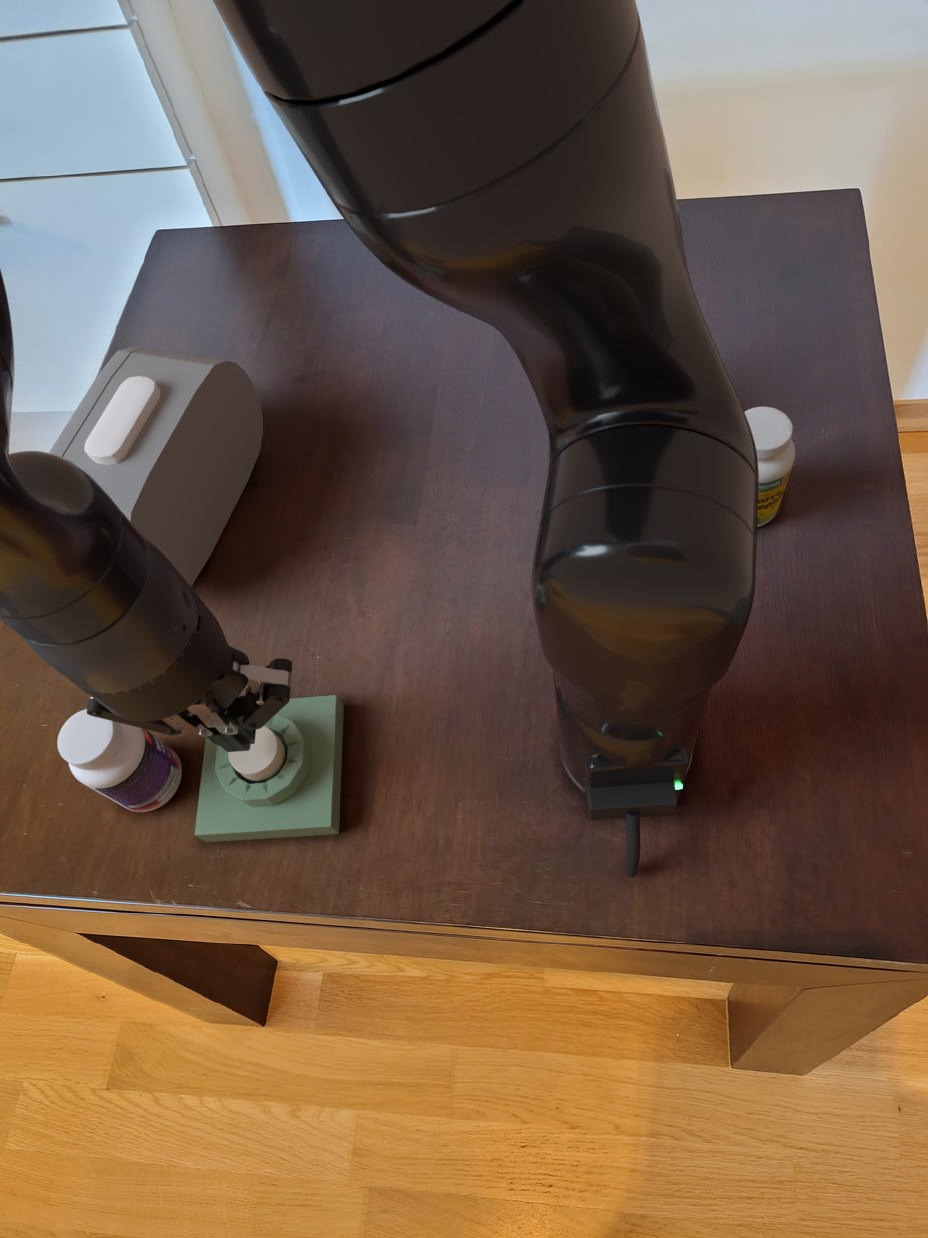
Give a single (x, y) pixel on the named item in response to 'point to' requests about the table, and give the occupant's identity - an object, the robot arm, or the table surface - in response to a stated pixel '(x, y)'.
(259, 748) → the beige push button
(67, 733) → the pill bottle
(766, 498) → the supplement bottle
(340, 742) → the green button base
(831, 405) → the table surface
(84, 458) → the alarm clock
